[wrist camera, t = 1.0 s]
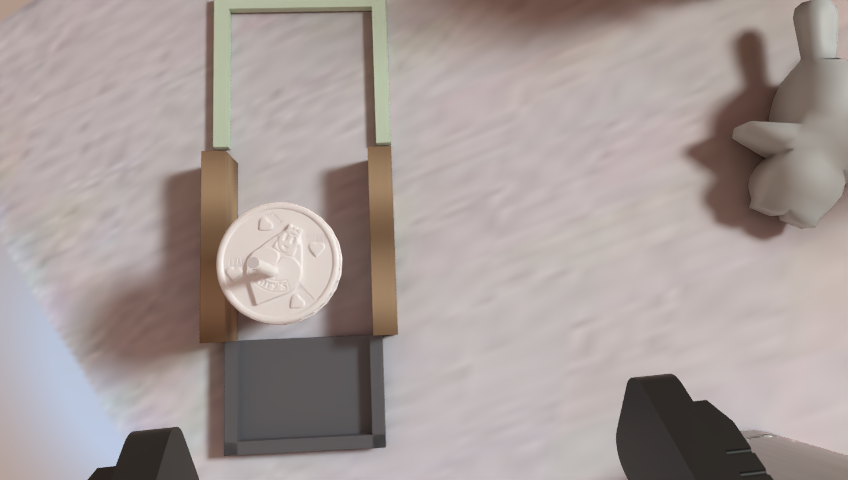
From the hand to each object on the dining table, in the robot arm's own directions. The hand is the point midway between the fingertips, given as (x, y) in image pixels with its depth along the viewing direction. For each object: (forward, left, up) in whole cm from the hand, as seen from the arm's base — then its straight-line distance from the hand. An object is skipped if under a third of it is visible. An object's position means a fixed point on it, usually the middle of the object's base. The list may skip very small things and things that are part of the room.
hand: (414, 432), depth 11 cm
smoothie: (+7, +4, -30) cm, 31 cm away
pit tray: (0, +6, -29) cm, 30 cm away
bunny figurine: (+5, -32, -30) cm, 44 cm away
